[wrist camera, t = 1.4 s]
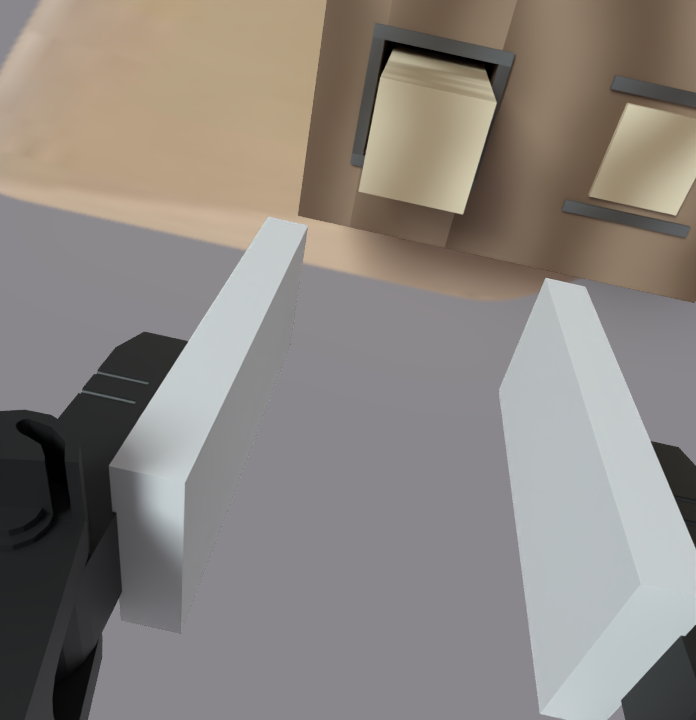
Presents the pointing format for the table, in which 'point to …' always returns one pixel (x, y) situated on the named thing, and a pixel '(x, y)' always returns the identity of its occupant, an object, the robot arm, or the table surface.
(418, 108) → the peg
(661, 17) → the wooden box
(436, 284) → the table surface
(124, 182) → the table surface
